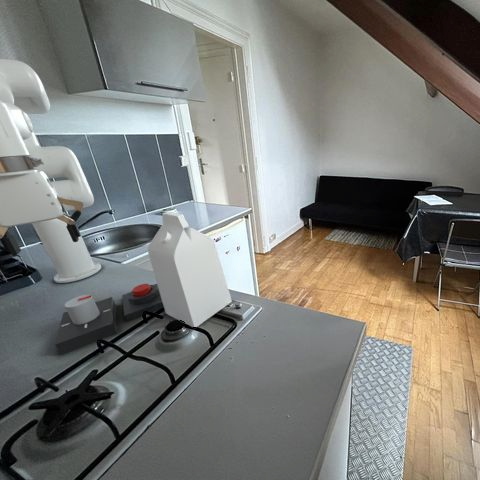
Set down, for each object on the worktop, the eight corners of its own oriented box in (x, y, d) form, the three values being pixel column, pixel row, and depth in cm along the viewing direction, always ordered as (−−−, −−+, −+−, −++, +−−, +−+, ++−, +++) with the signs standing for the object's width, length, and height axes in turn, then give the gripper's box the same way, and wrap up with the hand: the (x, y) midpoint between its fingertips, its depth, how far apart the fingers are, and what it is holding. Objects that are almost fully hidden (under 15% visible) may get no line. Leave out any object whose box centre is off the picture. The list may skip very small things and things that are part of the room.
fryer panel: (68, 322, 67) (63, 312, 65) (116, 305, 72) (111, 296, 71) (61, 355, 56) (54, 344, 55) (117, 333, 62) (112, 322, 60)
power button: (134, 292, 72) (131, 287, 71) (150, 287, 74) (148, 282, 74) (135, 299, 69) (132, 293, 68) (152, 293, 71) (150, 287, 71)
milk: (232, 301, 71) (210, 209, 61) (194, 328, 62) (162, 225, 52) (203, 290, 77) (180, 205, 67) (165, 313, 68) (131, 218, 58)
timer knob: (72, 327, 60) (62, 309, 58) (74, 317, 64) (65, 299, 61) (99, 318, 63) (90, 299, 60) (100, 308, 66) (91, 290, 64)
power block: (124, 299, 75) (120, 289, 73) (163, 286, 80) (159, 276, 79) (126, 321, 66) (121, 309, 64) (170, 304, 71) (166, 293, 70)
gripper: (68, 161, 59) (97, 232, 65) (-52, 172, 49) (-4, 253, 56) (63, 162, 53) (96, 240, 59) (-73, 174, 44) (-17, 265, 50)
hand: (48, 246), depth 58 cm, fingers open, 9 cm apart
